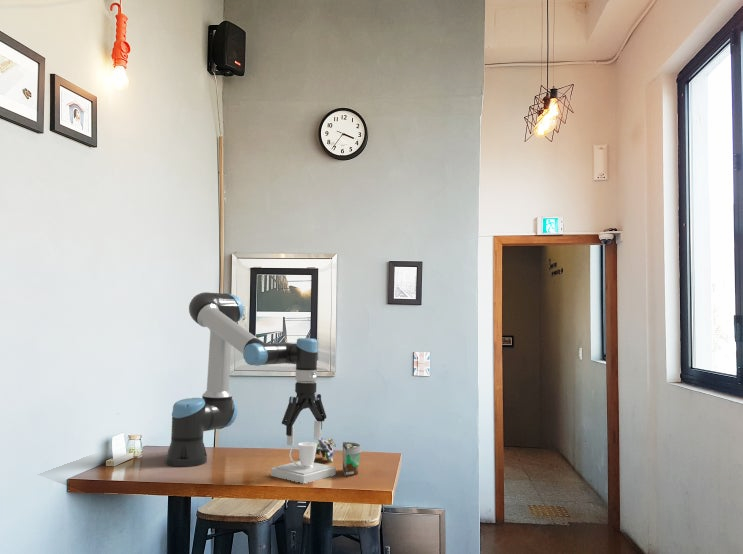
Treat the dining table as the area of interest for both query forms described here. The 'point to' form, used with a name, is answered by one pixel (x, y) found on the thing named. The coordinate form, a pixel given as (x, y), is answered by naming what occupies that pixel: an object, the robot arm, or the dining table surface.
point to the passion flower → (325, 449)
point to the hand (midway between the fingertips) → (304, 442)
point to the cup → (305, 454)
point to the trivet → (303, 472)
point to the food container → (351, 458)
